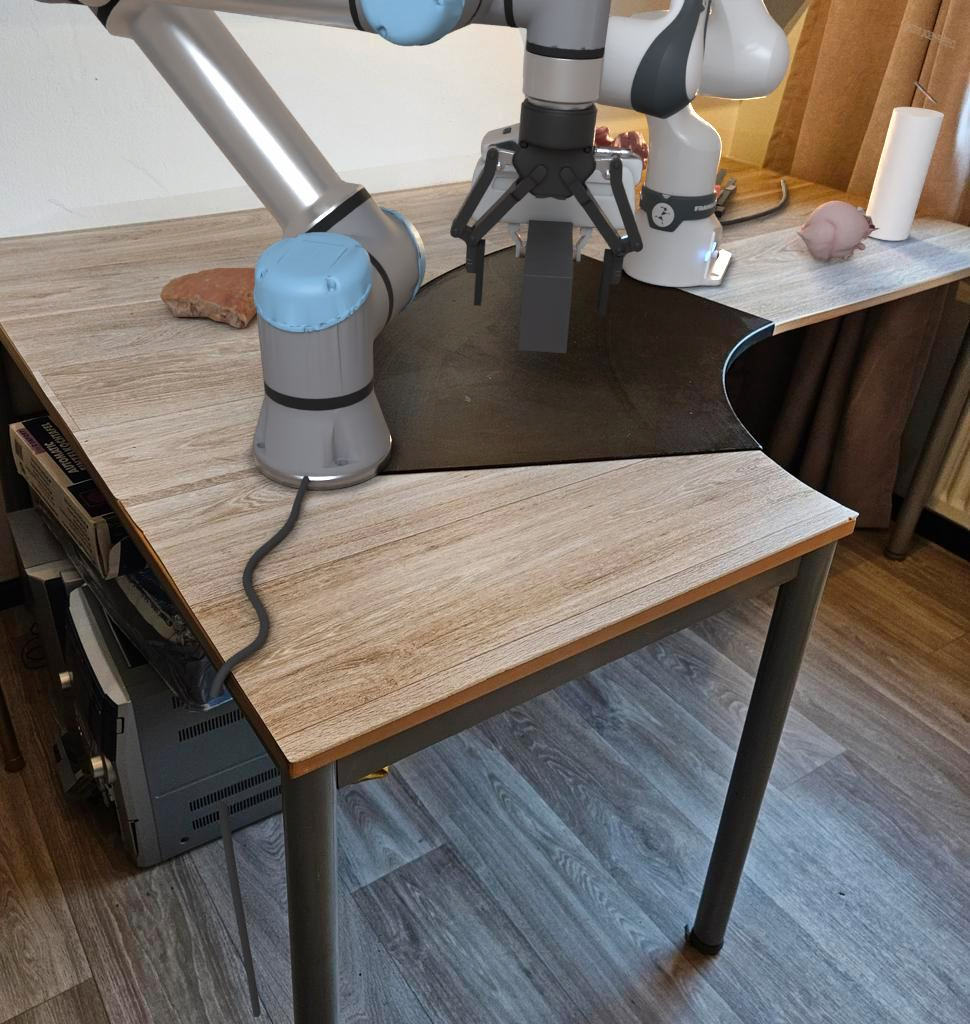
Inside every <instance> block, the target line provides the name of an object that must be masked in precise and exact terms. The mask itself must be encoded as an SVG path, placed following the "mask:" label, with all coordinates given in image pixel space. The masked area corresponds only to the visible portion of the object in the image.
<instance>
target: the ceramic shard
mask: <svg viewBox="0 0 970 1024" xmlns="http://www.w3.org/2000/svg"><path fill="white" fill-rule="evenodd" d="M254 286H255V267H216V268H211V269H203V270H200V271H198V272H193V273H187V274H184V275H181V276H179V277H177V278H176V277H175V278H173V279H171V280H170V281H168V282H167V283H166V284H165V285H164V286H163V287H162V289H161V291H160V294H159V297H160V299H161V301H162V302H163V303H164V304H165V305H166V306H168V308H169V310H170V312H171V313H172V315H173V316H174V317H178V318H180V317H185V318H187V317H189V318H197V317H198V318H209V319H211V320H213V321H215V322H219V323H225V324H228V325H229V326H230V327H234V328H237V329H244V328H246V327H247V325H248V324H249V323H250V321H251V320H252V319H253V317H254V316H255V315H257V312H256V306H255V303H254Z"/></svg>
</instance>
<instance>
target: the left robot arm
mask: <svg viewBox="0 0 970 1024" xmlns="http://www.w3.org/2000/svg"><path fill="white" fill-rule="evenodd" d="M34 1H36V2H38V3H43V4H49V5H51V4H67V5H69V4H70V5H77V6H78V5H79V6H87V7H88V9H89V10H90V11H91V12H92V14H93V15H94V16H95V17H96V19H97V20H98V21H99V22H100V24H101V25H102V26H103V27H104V28H105V30H106V31H107V33H108V34H109V35H111V36H114V37H118V38H124V39H130V40H132V41H133V42H134V44H136V46H137V47H138V48H139V50H140V51H141V52H142V53H143V54H144V55H145V57H146V58H147V60H148V61H149V62H150V63H151V65H152V66H153V67H154V68H155V70H156V71H157V72H158V73H159V75H160V76H161V77H162V78H163V80H164V81H165V83H166V84H167V85H168V86H169V87H170V89H171V90H172V91H173V93H174V94H175V95H176V96H177V97H178V99H179V100H180V101H181V102H182V104H183V105H184V106H185V108H186V109H187V110H188V111H189V112H190V114H191V115H192V116H193V118H194V119H195V120H196V121H197V123H198V124H199V125H200V126H201V128H202V129H203V130H204V131H205V133H206V134H207V136H209V138H210V139H211V141H212V142H213V143H214V144H215V145H216V147H217V148H218V149H219V151H220V152H221V153H222V154H223V156H224V157H225V158H226V159H227V161H228V162H229V164H231V166H232V167H233V168H234V170H235V171H236V172H237V173H238V174H239V176H240V177H241V178H242V179H243V181H244V182H245V184H246V185H247V186H248V187H249V188H250V190H251V191H252V192H253V193H254V195H255V196H256V197H257V198H258V200H259V201H260V202H261V203H262V205H263V206H264V207H265V209H266V210H267V211H268V212H269V214H270V215H271V216H272V218H273V219H274V220H275V221H276V223H277V224H278V225H279V226H280V228H281V230H282V238H281V239H280V240H278V241H275V242H274V243H272V244H271V245H269V246H268V247H267V248H265V249H264V250H263V251H262V253H261V254H260V255H259V256H258V258H257V261H256V263H255V267H254V268H255V286H254V303H255V306H256V312H257V313H256V320H257V331H258V340H259V349H260V359H261V369H262V378H263V388H264V390H263V391H264V396H263V400H262V404H261V408H260V412H259V415H258V419H257V423H256V427H255V430H254V434H253V439H252V455H253V460H254V464H255V467H256V468H257V470H258V471H259V472H260V473H261V474H262V475H263V476H265V477H266V478H268V479H269V480H271V481H273V482H275V483H278V484H280V485H283V486H286V487H290V488H295V489H298V490H297V492H296V494H295V497H294V500H293V501H294V502H293V504H292V507H291V510H290V514H289V516H288V518H287V520H286V522H285V523H284V525H283V526H282V527H281V528H280V529H279V530H278V532H277V533H275V534H274V535H273V537H271V538H270V539H268V540H267V541H266V542H265V543H264V544H263V545H262V546H260V547H259V548H257V550H255V552H254V553H253V554H252V555H251V557H250V558H249V559H248V561H247V563H246V565H245V567H244V569H243V572H242V586H243V590H244V592H245V594H246V596H247V599H248V600H249V602H250V603H251V606H252V607H253V608H254V610H255V612H256V614H257V616H258V621H259V630H258V635H257V636H256V637H255V639H254V640H253V641H252V642H251V643H249V644H248V645H246V646H245V647H244V648H242V649H241V650H239V651H238V652H235V653H234V654H233V655H232V656H231V657H229V658H228V659H227V660H226V661H225V662H224V663H223V664H222V665H221V666H220V668H219V670H218V671H217V673H216V675H215V677H214V679H213V681H212V685H211V688H210V691H209V697H210V698H212V699H214V698H215V699H216V698H218V696H220V693H221V691H222V688H223V685H224V682H225V680H226V678H227V677H228V675H229V674H230V673H231V672H232V670H233V669H234V668H235V667H236V666H237V665H239V664H240V663H241V662H243V661H244V660H246V659H247V658H249V657H250V656H251V655H253V654H255V653H256V652H257V651H259V650H260V649H261V648H262V647H263V645H264V643H265V642H266V640H267V637H269V631H270V619H269V615H268V613H267V610H266V608H265V607H264V604H263V602H262V601H261V599H260V598H259V597H258V594H257V593H256V591H255V589H254V587H253V583H252V575H253V571H254V568H255V567H256V565H257V564H258V563H259V561H261V559H262V558H263V557H264V556H265V555H266V554H267V553H268V552H270V551H271V550H272V549H273V548H274V547H275V546H277V545H278V544H279V543H280V542H282V540H283V539H285V538H286V536H287V535H288V534H289V532H290V531H291V530H292V528H293V527H294V526H295V523H296V522H297V519H298V516H299V513H300V510H301V506H302V503H303V500H304V497H305V494H306V492H307V490H312V491H314V490H315V491H323V490H327V491H328V490H337V489H342V488H348V487H351V486H355V485H358V484H361V483H363V482H366V481H368V480H370V479H373V478H374V477H375V476H377V475H378V474H380V473H381V472H382V471H383V470H384V469H385V468H386V467H387V466H388V464H389V463H390V461H391V458H392V437H391V432H390V430H389V427H388V424H387V422H386V419H385V417H384V413H383V411H382V408H381V406H380V403H379V400H378V398H377V395H376V393H375V385H374V343H375V340H376V338H377V337H378V336H379V334H381V333H382V332H383V331H384V330H385V329H386V328H387V327H388V325H390V324H391V322H393V320H394V319H395V318H396V317H397V316H398V315H400V314H401V313H402V312H403V311H404V310H406V309H408V307H409V306H410V305H411V304H412V302H413V300H414V299H415V297H416V295H417V293H418V292H419V290H420V288H421V286H422V284H423V282H424V279H425V276H426V275H425V274H426V267H427V256H426V250H425V246H424V242H423V239H422V237H421V235H420V233H419V232H418V230H417V229H416V227H415V226H414V224H413V223H412V222H411V221H410V220H409V219H408V218H407V217H406V216H404V215H403V214H402V213H400V212H399V211H396V210H394V209H389V208H386V207H384V206H380V205H379V204H378V203H377V202H376V201H375V199H374V198H373V197H372V194H370V193H369V191H368V190H367V188H366V187H365V186H364V185H363V184H360V183H355V182H348V181H345V180H344V179H342V178H341V176H340V175H339V174H338V172H336V169H334V168H333V166H332V165H331V163H330V162H329V161H328V159H327V158H326V157H325V156H324V154H323V153H322V152H321V151H320V148H318V146H317V145H316V144H315V142H314V141H313V140H312V138H311V137H310V136H309V134H308V133H307V132H306V130H305V129H304V128H303V126H302V125H301V124H300V123H299V121H298V120H297V118H295V116H294V115H293V114H292V112H291V111H290V109H289V108H288V107H287V106H286V104H285V103H284V101H283V100H282V99H281V98H280V96H279V95H278V93H277V92H276V91H275V90H274V88H273V87H272V86H271V84H270V83H269V82H268V81H267V79H266V78H265V76H264V75H263V74H262V73H261V71H260V70H259V68H258V67H257V66H256V64H255V63H254V62H253V60H252V59H251V58H250V57H249V55H248V54H247V53H246V51H244V49H243V47H242V46H241V45H240V44H239V42H238V41H237V40H236V38H235V37H234V36H233V34H232V32H231V31H229V29H228V28H227V26H226V25H225V24H224V23H223V21H222V20H221V19H220V16H219V15H217V13H216V12H221V13H228V14H235V15H243V16H251V17H257V18H264V19H271V20H272V19H273V20H279V21H286V22H293V23H302V24H308V25H317V26H324V27H331V28H337V29H338V28H339V29H345V30H351V31H353V30H354V31H360V32H364V33H370V34H374V35H379V36H380V37H381V38H382V39H384V40H385V41H387V42H389V43H391V44H393V45H396V46H401V47H415V46H416V47H423V46H424V47H425V46H428V45H432V44H434V43H436V42H438V41H440V40H442V39H443V38H445V37H446V36H447V35H449V34H452V33H454V32H455V31H458V30H460V29H463V28H466V27H468V26H470V25H485V26H497V27H509V28H511V29H512V28H513V29H525V30H526V33H527V41H526V51H525V63H524V76H523V75H522V90H521V91H522V93H523V95H524V97H525V96H527V97H528V98H526V99H525V100H524V99H523V101H522V102H520V103H521V104H520V105H521V106H520V113H521V114H520V115H519V123H520V127H519V140H518V145H517V148H516V149H515V151H510V150H505V149H500V148H499V147H498V146H497V145H496V144H491V145H489V146H488V149H487V155H486V161H485V166H484V168H483V169H482V171H481V173H480V175H479V176H478V178H477V180H476V182H475V183H474V185H473V187H472V189H471V190H470V189H469V192H468V194H467V196H466V197H465V199H464V201H463V202H462V205H461V206H460V208H459V209H458V212H457V214H456V215H455V216H454V219H453V220H452V222H451V226H450V230H449V235H450V236H451V237H452V238H454V239H460V240H462V241H463V242H464V243H465V245H466V246H465V247H466V251H465V267H464V269H465V271H466V273H467V274H475V277H474V294H473V295H474V296H473V306H477V307H481V306H482V300H483V299H482V298H483V287H484V286H483V284H484V270H485V257H486V256H485V255H486V241H487V239H486V238H484V237H485V236H486V235H487V234H488V233H489V232H490V231H491V230H492V229H493V228H494V227H495V226H496V225H497V224H498V223H500V222H499V221H500V220H501V219H502V218H503V217H504V215H505V214H506V213H507V212H508V211H509V210H510V209H511V208H512V207H513V206H514V205H515V204H516V203H517V202H519V201H521V200H522V199H523V198H524V197H525V196H526V195H527V194H528V193H530V194H532V195H533V196H536V197H535V198H542V199H543V198H549V197H552V198H555V199H557V200H566V199H567V198H570V197H572V196H573V195H574V197H575V198H576V200H577V201H578V203H579V204H580V205H581V206H582V207H583V209H584V210H585V212H586V213H587V215H588V216H589V218H590V219H591V220H592V222H593V223H594V225H595V226H596V228H595V229H596V230H597V231H598V233H599V234H600V235H601V237H602V239H603V240H604V241H605V243H606V245H607V246H608V247H609V248H604V253H603V260H602V267H601V275H600V282H599V289H598V297H597V303H596V309H597V315H598V316H603V317H605V316H606V313H607V306H608V299H609V291H610V285H617V286H618V285H619V284H620V282H621V278H622V272H623V267H622V266H623V259H624V257H625V255H626V254H628V253H630V252H640V251H641V250H642V249H643V242H642V239H641V235H640V232H639V229H638V226H637V223H636V220H635V217H634V214H633V211H632V208H631V205H630V202H629V199H628V196H627V193H626V191H625V188H624V185H623V182H622V172H623V164H622V160H621V156H620V155H619V154H617V153H614V154H612V155H611V156H610V157H594V154H593V145H594V137H595V128H596V127H597V121H598V120H597V119H598V111H599V109H598V108H597V106H596V104H595V105H594V104H593V102H595V101H596V100H598V99H599V96H600V88H601V80H602V71H603V63H604V52H605V44H606V36H607V29H608V22H609V14H611V13H610V12H611V8H612V0H34ZM508 163H512V164H513V167H514V168H515V170H516V172H517V173H518V175H519V177H518V178H517V179H516V180H515V181H514V182H513V184H512V185H511V186H510V188H509V189H508V190H507V191H506V192H505V193H504V194H503V195H502V196H501V197H500V198H499V199H498V200H497V201H496V202H495V203H494V204H493V205H492V206H491V207H490V208H489V209H488V210H487V211H486V212H485V213H484V214H483V215H482V216H481V217H480V218H479V219H478V221H475V222H474V223H473V225H468V224H469V222H470V220H471V219H472V218H471V217H472V215H473V213H474V211H475V210H476V208H477V206H478V204H479V203H480V201H481V199H482V198H483V196H484V194H485V192H486V191H487V189H488V187H489V185H490V184H491V182H492V180H493V178H494V175H495V172H496V171H497V172H500V171H502V170H503V169H504V167H505V166H506V164H508ZM595 170H599V171H600V172H601V173H602V177H603V178H604V179H605V180H610V184H611V188H612V192H613V195H614V198H615V201H616V203H617V206H618V209H619V212H620V215H621V218H622V221H623V224H624V227H625V230H624V231H625V232H626V235H627V236H628V237H626V238H622V237H621V236H620V234H619V232H618V230H617V229H615V228H614V227H613V225H612V224H611V222H610V221H609V219H608V218H607V216H606V215H605V213H604V212H603V210H602V209H601V207H600V206H599V204H598V203H597V201H596V200H595V198H594V197H593V195H592V194H591V192H590V190H589V188H588V187H587V185H586V184H585V182H586V181H587V179H588V178H589V177H590V176H591V175H592V174H593V173H594V171H595ZM217 807H218V815H219V821H220V822H219V823H220V829H221V830H220V831H221V836H222V843H223V844H222V845H223V850H224V857H225V863H226V869H227V875H228V881H229V886H230V893H231V897H232V901H233V902H232V903H233V904H232V905H233V910H234V915H235V919H236V925H237V930H238V935H239V941H240V946H241V947H240V948H241V952H242V958H243V963H244V968H245V974H246V980H247V985H248V986H247V987H248V992H249V997H250V1004H251V1010H252V1015H253V1017H254V1018H259V1017H260V1016H261V1013H262V1012H261V1005H260V998H259V991H258V986H257V980H256V973H255V967H254V961H253V956H252V955H253V954H252V951H251V944H250V939H249V938H250V937H249V933H248V928H247V923H246V915H245V911H244V905H243V899H242V893H241V887H240V881H239V875H238V868H237V863H236V862H237V861H236V857H235V849H234V843H233V835H232V827H231V819H230V811H229V803H226V802H223V801H220V800H217Z"/></svg>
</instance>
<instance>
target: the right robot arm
mask: <svg viewBox="0 0 970 1024" xmlns="http://www.w3.org/2000/svg"><path fill="white" fill-rule="evenodd" d="M526 41H527V32H526V33H525V42H524V52H523V62H522V64H523V65H522V77H523V76H524V63H525V51H526ZM790 57H791V50H790V44H789V40H788V37H787V35H786V32H785V30H783V28H782V27H781V25H779V24H778V23H777V22H776V20H775V19H774V18H773V17H772V15H771V14H770V13H769V11H768V9H767V6H766V5H765V3H764V0H670V2H669V8H668V9H660V10H650V11H644V12H637V13H633V14H632V15H631V16H629V17H627V16H622V15H621V16H620V15H616V14H612V13H610V14H609V22H608V29H607V36H606V44H605V52H604V63H603V71H602V80H601V88H600V96H599V99H598V100H596V101H595V102H593V104H594V105H595V106H596V104H597V105H599V106H605V107H613V108H619V109H624V110H630V111H635V112H637V113H640V114H644V115H645V119H646V123H647V128H648V129H647V130H648V158H647V164H646V174H645V181H644V182H643V183H642V185H641V190H640V193H639V209H638V210H637V211H636V187H637V186H638V185H639V184H640V183H641V180H642V177H643V171H644V170H643V161H642V159H641V157H640V156H639V155H638V154H636V153H634V152H632V149H629V148H621V149H619V148H611V147H601V146H594V145H593V154H594V157H610V156H611V155H612V154H614V153H617V154H619V155H620V156H621V160H622V164H623V172H622V182H623V185H624V188H625V191H626V193H627V196H628V199H629V202H630V205H631V208H632V211H633V214H634V217H635V220H636V223H637V226H638V229H639V232H640V235H641V239H642V242H643V249H642V250H641V251H640V252H630V253H628V254H626V255H625V257H624V259H623V266H622V270H624V272H625V273H626V274H627V275H628V276H630V277H631V278H633V279H635V280H637V281H640V282H643V283H646V284H650V285H656V286H660V287H670V288H689V287H690V288H691V287H697V286H708V287H709V286H711V287H712V286H714V287H715V286H721V284H722V282H723V279H724V277H725V275H726V272H727V270H728V269H729V266H730V263H731V261H732V253H730V252H729V251H726V250H724V249H722V248H721V244H722V238H723V232H724V227H726V226H732V225H733V226H734V225H737V224H741V223H746V222H750V221H753V220H757V219H760V218H763V217H766V216H769V215H772V214H774V213H776V212H778V211H780V209H782V208H783V207H784V206H785V204H786V202H787V200H788V188H787V183H786V179H784V178H782V179H780V186H781V193H782V198H781V200H780V202H778V204H776V205H774V206H773V207H771V208H769V209H766V210H763V211H760V212H757V213H753V214H750V215H746V216H741V217H737V218H733V219H728V220H722V221H720V220H719V218H717V217H716V216H715V214H714V212H715V210H716V203H717V198H718V197H719V194H720V193H719V192H720V191H721V189H722V188H721V185H720V186H719V185H715V184H716V178H717V175H718V173H719V166H720V161H721V154H722V149H723V145H722V140H721V136H720V135H719V133H718V132H717V129H715V128H714V127H713V125H711V124H710V123H709V122H707V121H705V120H704V119H703V118H702V117H700V116H699V115H698V114H697V113H696V112H695V110H694V109H693V106H692V104H691V103H692V102H693V101H694V100H695V99H696V97H697V96H700V97H706V98H707V97H708V98H717V99H724V100H732V101H739V100H740V101H741V100H755V99H762V98H767V97H769V96H770V95H771V94H772V93H773V92H775V90H776V89H778V88H779V86H780V85H781V83H782V81H784V78H785V77H786V74H787V71H788V69H789V65H790V59H791V58H790ZM526 98H528V97H527V96H525V95H524V98H523V101H524V100H525V99H526ZM520 114H521V112H520ZM519 127H520V122H518V123H514V124H511V125H506V126H502V127H500V128H499V127H498V128H495V129H491V130H489V131H487V132H486V133H485V135H484V136H483V138H482V140H481V145H480V155H481V156H480V157H479V159H478V161H477V163H476V165H475V168H474V171H473V174H472V178H471V183H470V189H469V191H470V190H471V189H472V187H473V185H474V183H475V182H476V180H477V178H478V176H479V175H480V173H481V171H482V169H483V168H484V166H485V161H486V155H487V149H488V146H489V145H491V144H496V145H497V146H498V147H499V148H500V149H505V150H510V151H515V149H516V148H517V145H518V140H519ZM595 130H596V128H595ZM594 140H595V137H594ZM631 156H634V157H636V158H631ZM518 177H519V175H518V173H517V172H516V170H515V168H514V167H513V164H512V163H508V164H506V166H505V167H504V169H503V170H502V171H500V172H497V171H496V172H495V175H494V178H493V180H492V182H491V184H490V185H489V187H488V189H487V191H486V192H485V194H484V196H483V198H482V199H481V201H480V203H479V204H478V206H477V208H476V210H475V211H474V213H473V215H472V217H471V218H470V219H472V220H473V221H474V222H477V221H478V219H479V218H480V217H481V216H482V215H483V214H484V213H485V212H486V211H487V210H488V209H489V208H490V207H491V206H492V205H493V204H494V203H495V202H496V201H497V200H498V199H499V198H500V197H501V196H502V195H503V194H504V193H505V192H506V191H507V190H508V189H509V188H510V186H511V185H512V184H513V182H514V181H515V180H516V179H517V178H518ZM585 184H586V185H587V187H588V188H589V190H590V192H591V194H592V195H593V197H594V198H595V200H596V201H597V203H598V204H599V206H600V207H601V209H602V210H603V212H604V213H605V215H606V216H607V218H608V219H609V221H610V222H611V224H612V225H613V227H614V228H615V230H616V231H618V230H619V231H626V230H625V227H624V224H623V221H622V218H621V215H620V212H619V209H618V206H617V203H616V201H615V198H614V195H613V192H612V188H611V184H610V180H605V179H604V178H603V177H602V173H601V172H600V171H599V170H595V171H594V173H593V174H592V175H591V176H590V177H589V178H588V179H587V181H586V182H585ZM535 197H536V196H533V195H532V194H530V193H528V194H527V195H526V196H525V197H524V198H523V199H522V200H521V201H519V202H517V203H516V204H515V205H514V206H513V207H512V208H511V209H510V210H509V211H508V212H507V213H506V214H505V215H504V217H503V218H502V219H501V220H500V221H499V222H498V223H504V224H508V225H507V232H508V234H509V236H510V238H511V240H512V241H513V242H512V243H513V244H514V245H515V259H525V252H526V243H527V240H522V237H521V236H520V233H519V232H520V230H521V229H520V228H521V225H528V224H529V220H539V221H556V222H572V223H573V228H580V230H579V231H580V237H579V239H578V240H577V242H575V243H573V263H580V262H581V258H582V250H583V249H584V247H585V246H586V245H587V243H588V242H589V241H590V240H591V238H592V236H593V229H597V228H596V226H595V225H594V223H593V222H592V220H591V219H590V218H589V216H588V215H587V213H586V212H585V210H584V209H583V207H582V206H581V205H580V204H579V203H578V201H577V200H576V198H575V197H574V195H573V196H572V197H570V198H567V199H566V200H557V199H555V198H552V197H549V198H543V199H542V198H535ZM626 237H628V236H627V234H626V235H624V236H622V237H621V239H622V238H626Z"/></svg>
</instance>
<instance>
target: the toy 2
mask: <svg viewBox="0 0 970 1024" xmlns="http://www.w3.org/2000/svg"><path fill="white" fill-rule="evenodd" d="M866 211H867V209H866V210H865V209H864V208H862V206H856V207H855V206H854V205H852V204H851V203H848V202H846V201H841V200H830V201H826V202H824V203H822V204H821V205H819V206H817V207H816V208H815V209H814V210H813V211H812V212H811V213H810V214H809V216H808V218H807V219H806V220H805V222H804V223H801V229H800V231H796V234H797V235H798V236H799V237H800V238H801V240H802V241H803V243H804V245H805V246H806V247H807V251H808V253H809V254H810V255H811V256H812V257H813V258H814V259H816V260H821V261H825V262H826V261H828V260H830V258H831V259H842V260H844V258H845V257H846V259H849V258H851V257H853V255H854V252H855V250H859V251H864V250H865V249H867V248H866V245H865V244H864V243H863V242H864V241H866V240H867V239H868V237H869V236H868V235H870V234H871V233H872V231H875V230H878V229H880V228H875V225H873V222H872V219H871V216H867V215H866Z"/></svg>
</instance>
